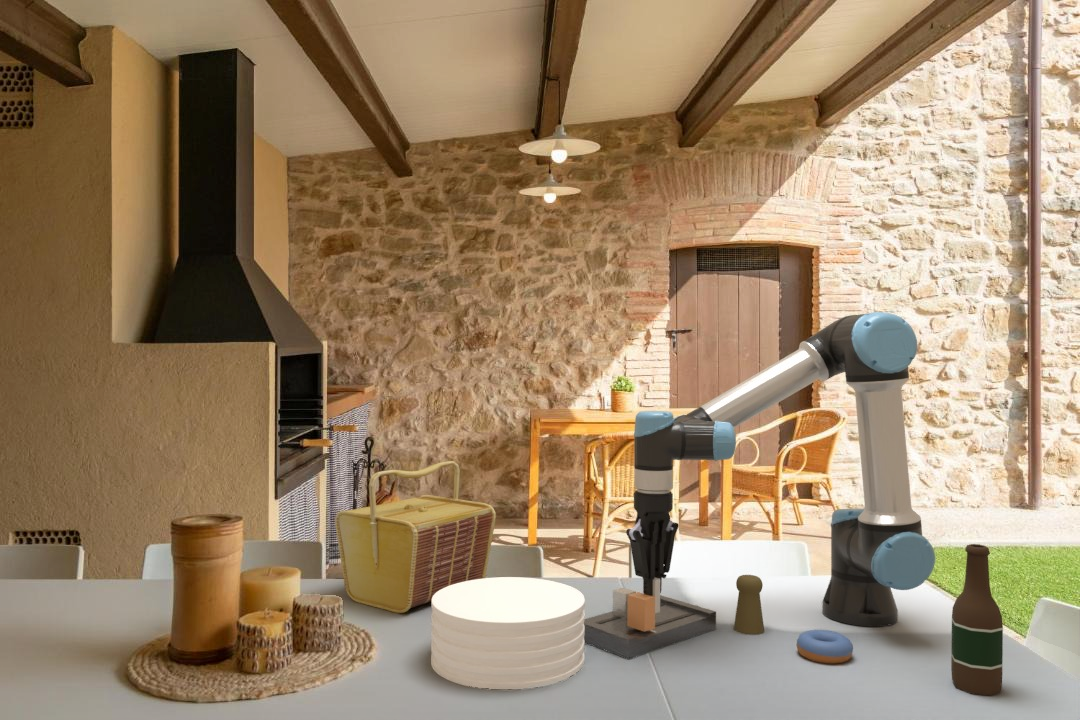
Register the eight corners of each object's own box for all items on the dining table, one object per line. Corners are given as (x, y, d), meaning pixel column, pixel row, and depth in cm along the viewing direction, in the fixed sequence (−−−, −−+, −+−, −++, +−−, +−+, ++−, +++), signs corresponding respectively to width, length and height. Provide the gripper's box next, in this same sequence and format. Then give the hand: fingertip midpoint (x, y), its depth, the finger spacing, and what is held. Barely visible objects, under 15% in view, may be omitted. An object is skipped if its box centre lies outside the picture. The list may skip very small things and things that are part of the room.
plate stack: (466, 703, 132) (466, 632, 131) (410, 647, 156) (410, 587, 156) (613, 673, 144) (614, 608, 144) (540, 626, 169) (540, 570, 169)
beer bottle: (941, 678, 142) (942, 540, 142) (983, 677, 143) (985, 540, 143) (968, 697, 135) (969, 551, 134) (1013, 696, 135) (1014, 550, 135)
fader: (654, 628, 157) (655, 597, 157) (644, 631, 155) (644, 600, 155) (637, 622, 160) (638, 592, 160) (627, 625, 159) (627, 594, 158)
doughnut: (854, 668, 147) (852, 641, 147) (795, 663, 150) (794, 637, 150) (853, 654, 156) (852, 629, 156) (798, 650, 159) (797, 626, 160)
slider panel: (715, 629, 167) (716, 590, 167) (628, 659, 150) (628, 615, 150) (659, 611, 179) (660, 574, 179) (572, 637, 162) (573, 597, 162)
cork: (765, 635, 164) (765, 580, 164) (734, 633, 165) (734, 578, 165) (763, 626, 170) (763, 573, 170) (733, 623, 171) (733, 571, 171)
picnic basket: (420, 572, 210) (421, 455, 210) (499, 590, 195) (500, 464, 194) (329, 599, 186) (330, 467, 186) (411, 622, 171) (412, 478, 171)
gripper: (660, 484, 167) (659, 600, 167) (616, 491, 158) (615, 613, 159) (689, 489, 161) (688, 609, 161) (645, 496, 153) (644, 622, 153)
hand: (652, 610), depth 160 cm, fingers closed
